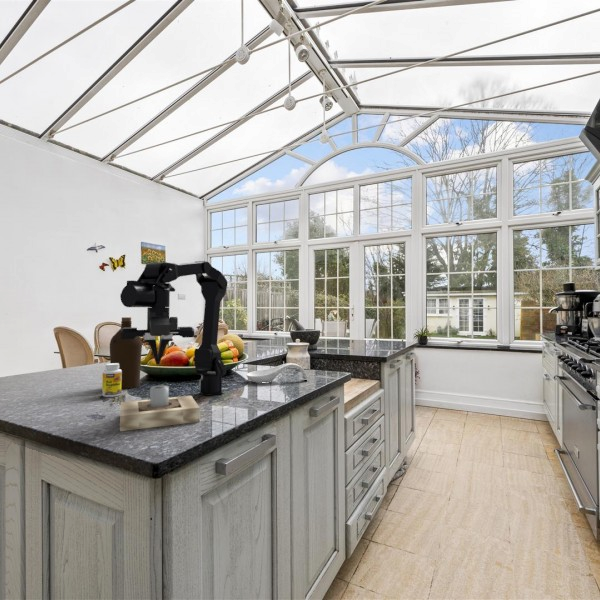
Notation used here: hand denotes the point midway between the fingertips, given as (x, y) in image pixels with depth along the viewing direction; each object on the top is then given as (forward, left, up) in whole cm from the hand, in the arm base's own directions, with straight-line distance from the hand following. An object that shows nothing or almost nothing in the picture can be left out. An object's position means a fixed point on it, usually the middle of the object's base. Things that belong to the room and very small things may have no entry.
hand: (157, 364), depth 103 cm
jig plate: (0, +7, -13) cm, 15 cm away
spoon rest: (-46, -26, -14) cm, 54 cm away
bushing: (0, +7, -13) cm, 15 cm away
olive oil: (+8, -39, -13) cm, 42 cm away
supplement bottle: (+12, -26, -13) cm, 32 cm away
